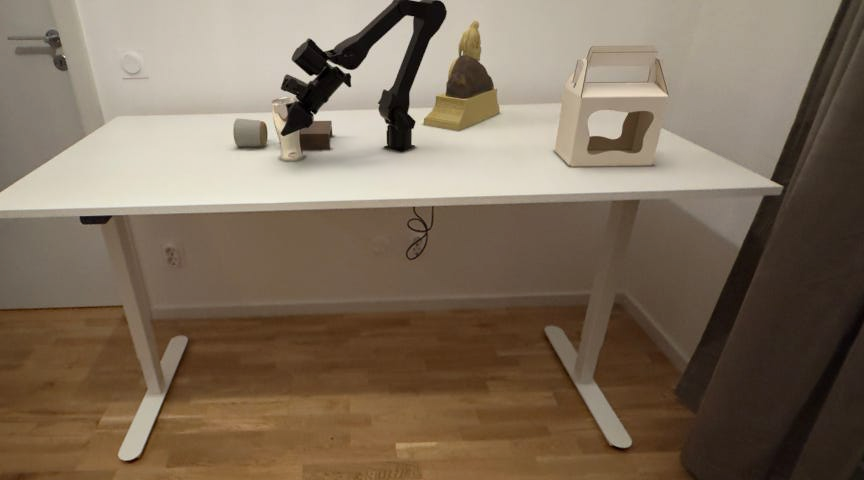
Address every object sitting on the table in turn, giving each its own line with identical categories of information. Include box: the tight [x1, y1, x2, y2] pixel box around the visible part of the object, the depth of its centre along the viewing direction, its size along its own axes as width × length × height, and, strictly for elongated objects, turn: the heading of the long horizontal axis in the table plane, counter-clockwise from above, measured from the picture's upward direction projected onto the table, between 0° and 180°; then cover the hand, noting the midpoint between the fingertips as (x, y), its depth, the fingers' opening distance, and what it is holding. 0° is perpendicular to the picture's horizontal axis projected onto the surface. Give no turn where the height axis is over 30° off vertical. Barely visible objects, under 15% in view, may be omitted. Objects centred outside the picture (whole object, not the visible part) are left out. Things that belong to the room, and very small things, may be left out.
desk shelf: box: [300, 120, 333, 151], centre depth 153 cm, size 12×14×9 cm
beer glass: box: [271, 96, 305, 162], centre depth 139 cm, size 7×7×15 cm
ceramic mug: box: [232, 118, 269, 148], centre depth 152 cm, size 11×8×8 cm
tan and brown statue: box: [423, 20, 501, 132], centre depth 172 cm, size 28×13×30 cm, turn 144°
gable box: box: [554, 45, 670, 168], centre depth 136 cm, size 22×13×28 cm, turn 93°
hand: (283, 131), depth 139 cm, fingers closed on beer glass, 6 cm apart
